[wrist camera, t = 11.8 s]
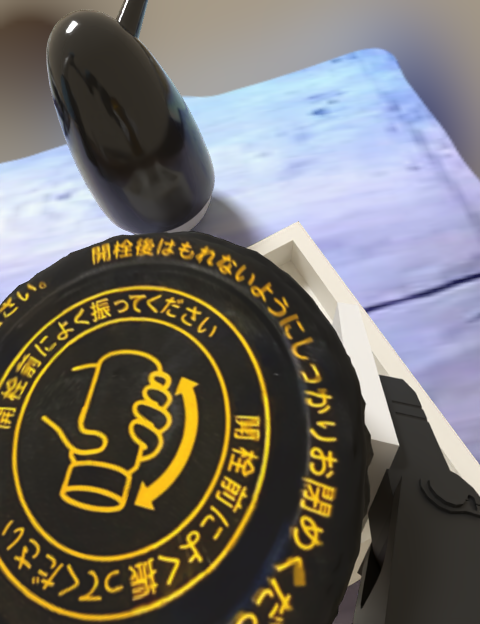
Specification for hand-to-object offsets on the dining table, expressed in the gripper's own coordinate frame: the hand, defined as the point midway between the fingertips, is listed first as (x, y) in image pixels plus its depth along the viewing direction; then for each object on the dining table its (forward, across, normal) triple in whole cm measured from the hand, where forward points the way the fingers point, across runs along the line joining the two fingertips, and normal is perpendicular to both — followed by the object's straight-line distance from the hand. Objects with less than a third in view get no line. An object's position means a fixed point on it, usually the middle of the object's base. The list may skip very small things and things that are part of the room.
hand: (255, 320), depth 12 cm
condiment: (0, +1, -5) cm, 5 cm away
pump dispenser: (+18, -12, +1) cm, 21 cm away
